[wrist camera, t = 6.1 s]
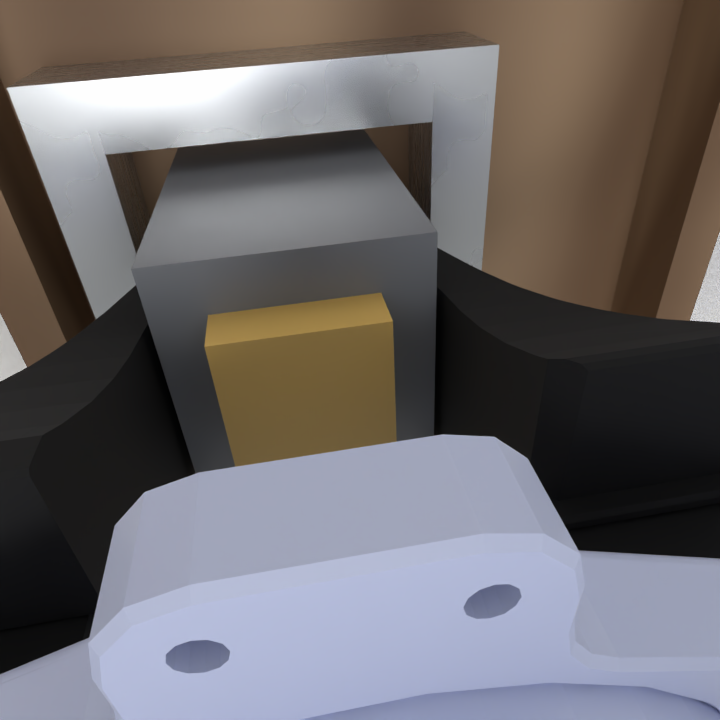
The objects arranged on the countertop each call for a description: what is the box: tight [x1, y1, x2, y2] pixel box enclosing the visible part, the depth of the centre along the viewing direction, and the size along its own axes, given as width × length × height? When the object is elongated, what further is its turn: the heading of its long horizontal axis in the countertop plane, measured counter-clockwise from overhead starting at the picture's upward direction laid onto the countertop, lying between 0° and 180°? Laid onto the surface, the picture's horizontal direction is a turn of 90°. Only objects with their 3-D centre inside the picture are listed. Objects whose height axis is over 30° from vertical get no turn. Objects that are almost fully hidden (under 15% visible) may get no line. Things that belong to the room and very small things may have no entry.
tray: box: [0, 0, 720, 367], centre depth 15 cm, size 16×18×2 cm
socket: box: [7, 31, 499, 319], centre depth 13 cm, size 8×8×2 cm
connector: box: [131, 129, 438, 473], centre depth 11 cm, size 4×4×7 cm
